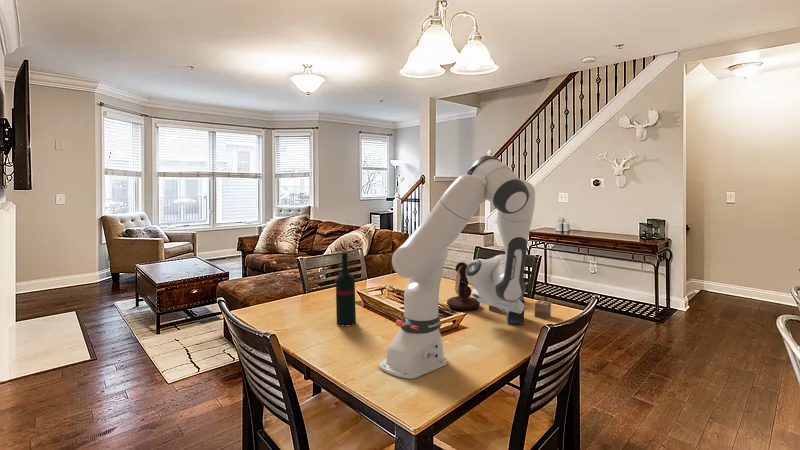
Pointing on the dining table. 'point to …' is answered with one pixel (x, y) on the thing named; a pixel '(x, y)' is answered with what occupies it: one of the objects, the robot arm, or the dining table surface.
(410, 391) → the dining table surface
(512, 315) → the small box
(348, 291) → the wine bottle
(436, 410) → the dining table surface
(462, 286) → the dark brown knobbly figurine
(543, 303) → the walnut block one
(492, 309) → the walnut block seven
